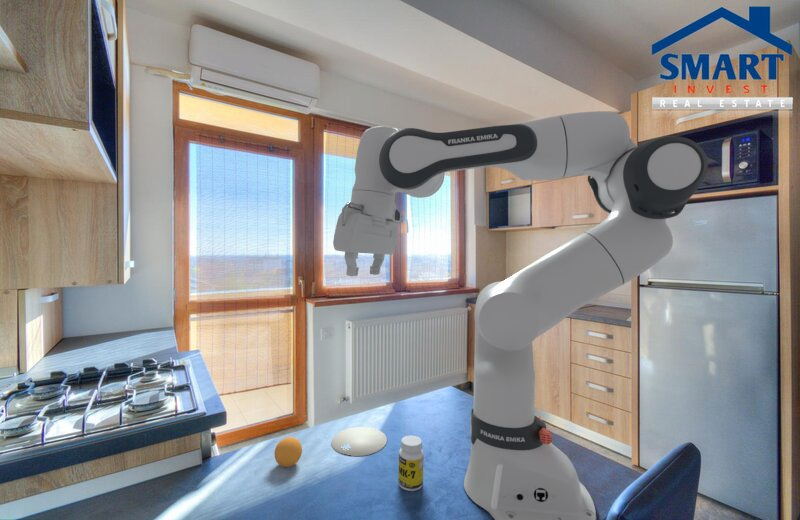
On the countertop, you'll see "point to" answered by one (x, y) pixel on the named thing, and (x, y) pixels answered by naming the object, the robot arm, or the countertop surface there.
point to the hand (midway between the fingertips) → (363, 275)
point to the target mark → (359, 441)
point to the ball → (288, 451)
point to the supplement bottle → (411, 463)
